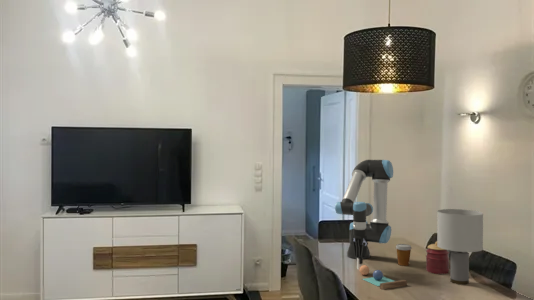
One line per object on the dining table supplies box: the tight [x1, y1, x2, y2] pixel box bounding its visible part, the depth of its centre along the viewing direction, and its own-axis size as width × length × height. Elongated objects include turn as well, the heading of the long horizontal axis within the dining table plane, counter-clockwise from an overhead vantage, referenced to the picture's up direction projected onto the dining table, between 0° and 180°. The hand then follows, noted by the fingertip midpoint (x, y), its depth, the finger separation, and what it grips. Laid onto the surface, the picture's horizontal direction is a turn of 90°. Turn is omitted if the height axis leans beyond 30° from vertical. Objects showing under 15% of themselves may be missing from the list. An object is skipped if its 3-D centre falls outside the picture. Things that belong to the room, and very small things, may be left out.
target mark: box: [362, 275, 395, 287], centre depth 249 cm, size 14×14×1 cm
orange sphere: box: [358, 264, 370, 276], centre depth 261 cm, size 6×6×6 cm
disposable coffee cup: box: [395, 243, 412, 267], centre depth 283 cm, size 10×10×12 cm
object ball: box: [372, 269, 384, 280], centre depth 251 cm, size 6×6×6 cm
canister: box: [425, 241, 450, 275], centre depth 268 cm, size 13×13×18 cm
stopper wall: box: [379, 279, 408, 290], centre depth 239 cm, size 2×16×2 cm, turn 114°
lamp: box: [436, 208, 484, 286], centre depth 247 cm, size 23×23×38 cm
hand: (359, 269), depth 266 cm, fingers closed
